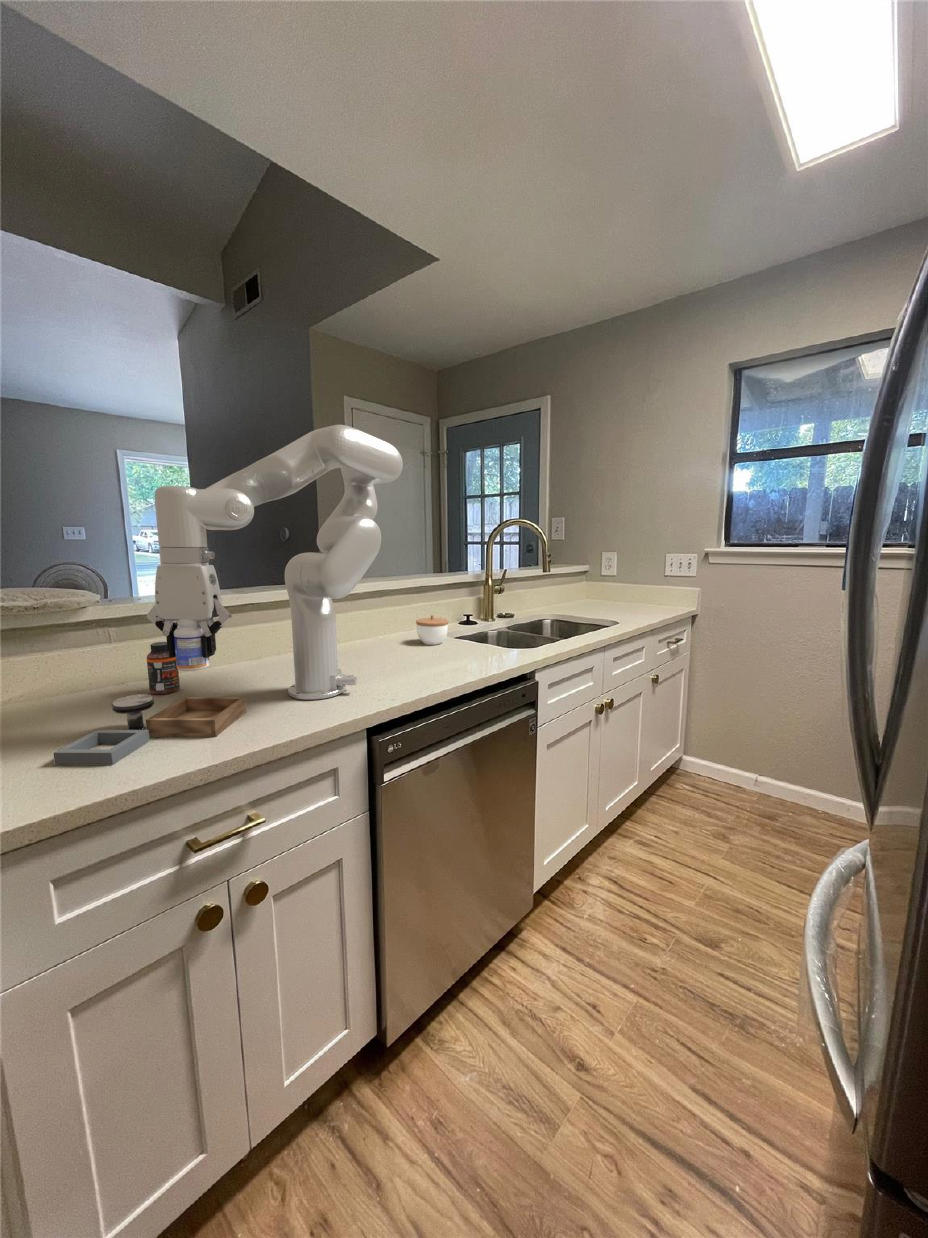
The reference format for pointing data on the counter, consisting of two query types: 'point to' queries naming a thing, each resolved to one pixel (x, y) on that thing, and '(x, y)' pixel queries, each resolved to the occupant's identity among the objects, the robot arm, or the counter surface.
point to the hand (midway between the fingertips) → (192, 655)
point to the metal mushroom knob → (133, 709)
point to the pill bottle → (189, 646)
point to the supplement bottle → (162, 670)
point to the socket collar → (85, 755)
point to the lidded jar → (432, 630)
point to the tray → (196, 717)
